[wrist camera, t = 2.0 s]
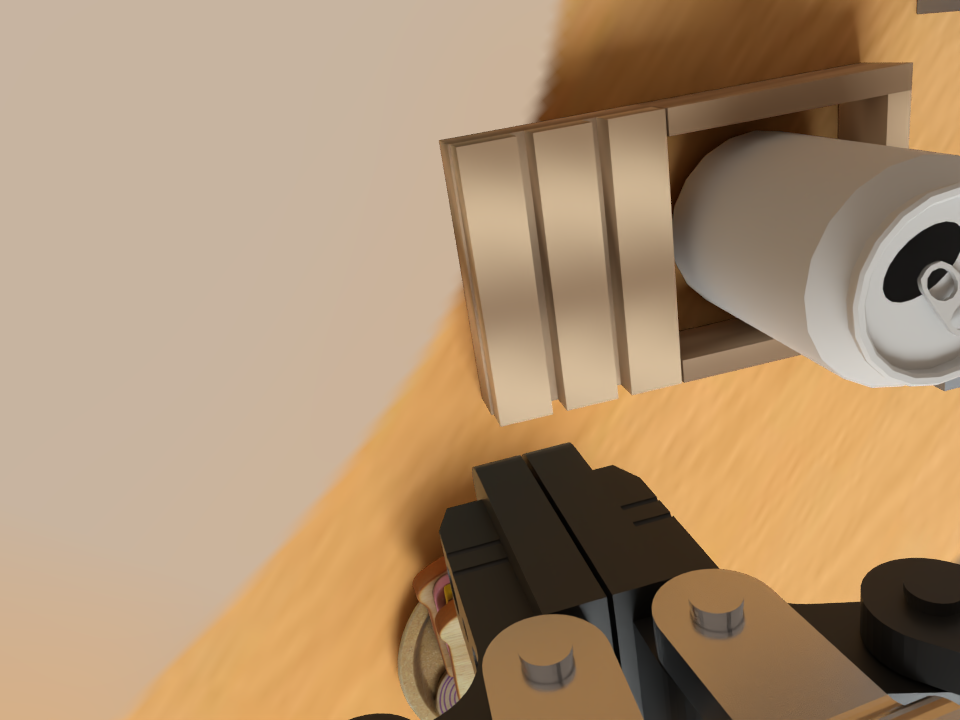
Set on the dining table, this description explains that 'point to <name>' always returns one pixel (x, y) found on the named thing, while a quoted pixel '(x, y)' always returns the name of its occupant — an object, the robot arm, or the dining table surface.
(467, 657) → the toy sandwich meal
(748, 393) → the dining table surface
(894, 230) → the can
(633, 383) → the pallet
